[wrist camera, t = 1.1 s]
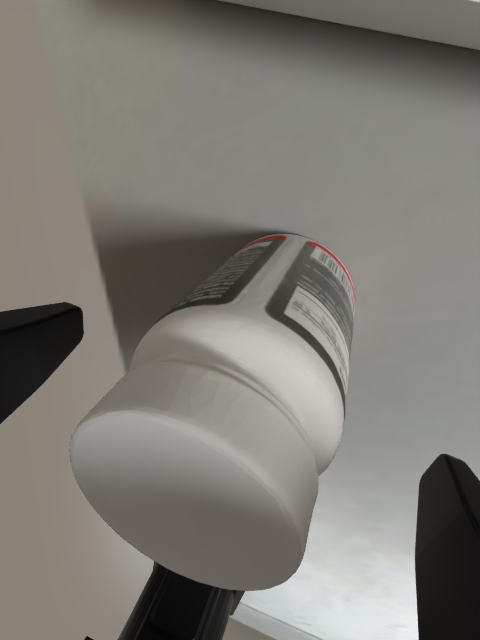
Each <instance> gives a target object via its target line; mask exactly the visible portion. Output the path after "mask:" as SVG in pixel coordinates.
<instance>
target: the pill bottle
mask: <svg viewBox="0 0 480 640" xmlns="http://www.w3.org/2000/svg"><path fill="white" fill-rule="evenodd" d="M354 317H355V292H354V287H353V283H352V280H351V278H350V276H349V273H348V271H347V270H346V268H345V266H344V265H343V263H342V262H341V261H340V260H339V258H338V257H337V256H336V255H335V254H334V253H333V252H331V251H330V250H329V249H328V248H326V247H324V246H323V245H321V244H320V243H318V242H316V241H314V240H311V239H309V238H306V237H303V236H299V235H293V234H274V235H269V236H265V237H262V238H259V239H256V240H254V241H252V242H250V243H249V244H247V245H246V246H244V247H243V248H241V249H240V250H239V251H238V252H237V253H235V254H234V255H233V256H232V257H231V258H230V259H229V260H227V261H226V262H225V263H224V264H223V265H222V266H221V267H219V268H218V269H217V270H216V271H215V272H214V273H213V274H211V275H210V276H209V277H208V278H207V279H206V280H204V281H203V282H202V283H201V284H200V285H199V286H198V287H196V288H195V289H194V290H193V291H192V292H191V293H189V294H188V295H187V296H186V297H185V298H184V299H183V300H181V301H180V302H179V303H178V304H177V305H176V306H175V307H173V308H172V309H171V310H170V311H169V312H168V313H166V314H165V315H164V316H163V317H161V318H160V319H159V320H158V321H157V322H156V323H155V325H154V326H153V327H152V328H151V329H150V330H149V331H148V332H147V333H146V334H145V336H144V337H143V338H142V340H141V341H140V343H139V344H138V346H137V348H136V350H135V352H134V355H133V358H132V361H131V365H130V369H129V373H128V374H127V375H125V376H124V377H123V378H122V379H121V380H120V381H119V382H118V383H117V384H116V385H115V386H114V387H113V388H112V389H111V390H110V391H109V392H108V393H107V394H106V395H105V396H104V397H103V398H102V399H101V400H100V401H99V403H98V404H97V405H96V406H95V407H94V408H93V409H92V410H91V411H90V412H89V413H88V414H87V415H86V416H85V417H84V419H82V420H81V422H80V423H79V424H78V426H77V427H76V429H75V431H74V433H73V435H72V437H71V442H70V449H69V451H70V462H71V465H72V469H73V473H74V476H75V478H76V480H77V483H78V485H79V487H80V489H81V490H82V492H83V494H84V495H85V497H86V498H87V500H88V501H89V503H90V504H91V505H92V507H93V508H94V509H95V510H96V512H97V513H98V514H99V515H100V516H101V517H102V518H103V520H104V521H105V522H107V524H108V525H109V526H110V527H112V529H113V530H114V531H115V532H117V534H119V535H120V536H121V537H122V538H123V539H124V540H126V541H127V542H128V543H129V544H131V545H132V546H133V547H135V548H136V549H137V550H139V551H140V552H141V553H143V554H144V555H146V556H147V557H149V558H151V559H152V560H154V561H156V562H157V563H159V564H161V565H162V566H164V567H166V568H167V569H169V570H171V571H173V572H175V573H178V574H180V575H183V576H185V577H187V578H190V579H192V580H195V581H197V582H200V583H205V584H208V585H211V586H215V587H219V588H223V589H229V590H241V591H254V590H264V589H269V588H272V587H274V586H277V585H280V584H282V583H284V582H285V581H287V580H288V579H289V578H290V577H291V576H292V575H293V574H294V573H296V571H297V569H298V568H299V566H300V564H301V561H302V559H303V555H304V552H305V548H306V542H307V537H308V532H309V526H310V521H311V517H312V512H313V508H314V505H315V501H316V498H317V494H318V476H319V475H320V474H321V473H322V472H324V471H325V470H326V468H327V467H328V466H329V464H330V463H331V461H332V460H333V458H334V456H335V454H336V451H337V449H338V447H339V443H340V439H341V435H342V430H343V424H344V419H345V406H346V395H347V385H348V375H349V365H350V354H351V343H352V335H353V325H354Z"/></svg>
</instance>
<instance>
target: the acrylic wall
mask: <svg viewBox="0 0 480 640" xmlns="http://www.w3.org/2000/svg"><path fill="white" fill-rule="evenodd" d="M218 1H224V2H229V3H234V4H240V5H245V6H250V7H255V8H261V9H266V10H271V11H276V12H282V13H287V14H292V15H297V16H303V17H308V18H313V19H319V20H324V21H329V22H334V23H340V24H345V25H350V26H355V27H361V28H366V29H371V30H376V31H382V32H387V33H392V34H398V35H403V36H408V37H413V38H419V39H424V40H429V41H434V42H440V43H445V44H450V45H455V46H461V47H466V48H471V49H477V50H480V0H218Z"/></svg>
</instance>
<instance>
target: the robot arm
mask: <svg viewBox="0 0 480 640" xmlns="http://www.w3.org/2000/svg"><path fill="white" fill-rule="evenodd" d="M83 334H84V331H83V313H82V310H81V308H80V307H77V306H75V305H73V304H70V303H67V302H63V303H56V304H49V305H43V306H36V307H30V308H23V309H16V310H9V311H3V312H0V424H1V423H2V422H3V421H4V420H5V419H6V418H7V417H8V416H9V415H10V414H12V412H14V411H15V410H16V409H17V408H18V407H19V406H20V405H21V404H22V403H23V402H24V401H26V400H27V399H28V398H29V397H30V396H31V395H32V394H33V393H34V392H35V391H36V390H37V389H38V388H39V387H40V386H41V385H42V384H43V383H44V382H45V381H46V380H47V379H48V378H49V377H50V375H52V373H53V372H54V371H55V370H56V369H57V368H58V367H59V366H60V364H61V363H62V362H63V361H64V360H65V359H66V358H67V356H68V355H69V354H70V353H71V352H72V351H73V350H74V349H75V347H76V346H77V345H78V344H79V343H80V341H81V340H82V337H83ZM415 573H416V593H417V613H418V632H419V640H480V481H479V479H478V478H477V477H476V476H475V474H474V473H473V472H472V470H471V469H470V468H469V467H468V465H467V464H466V463H465V462H464V461H462V460H460V459H458V458H455V457H453V456H450V455H448V454H441V455H439V456H438V457H437V458H436V459H435V461H434V462H433V463H432V464H431V465H430V467H429V468H428V469H427V470H426V471H425V473H424V474H423V475H422V477H421V480H420V484H419V496H418V512H417V528H416V544H415ZM244 592H245V591H241V590H229V589H223V588H219V587H215V586H211V585H208V584H205V583H200V582H197V581H195V580H192V579H190V578H187V577H185V576H183V575H180V574H178V573H175V572H173V571H171V570H169V569H167V568H166V567H164V566H162V565H161V564H159V563H157V562H156V561H154V567H153V572H152V574H151V576H150V578H149V580H148V582H147V584H146V585H145V587H144V590H143V591H142V594H141V595H140V597H139V599H138V601H137V603H136V605H135V607H134V609H133V611H132V613H131V615H130V617H129V619H128V621H127V623H126V625H125V627H124V629H123V631H122V633H121V634H120V636H119V639H118V640H222V638H223V635H224V632H225V628H226V625H227V622H228V618H229V615H233V613H234V611H235V609H236V608H237V606H238V604H239V602H240V600H241V598H242V596H243V594H244ZM85 640H93V639H91V638H90V637H88V636H87V637H86V638H85Z"/></svg>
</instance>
